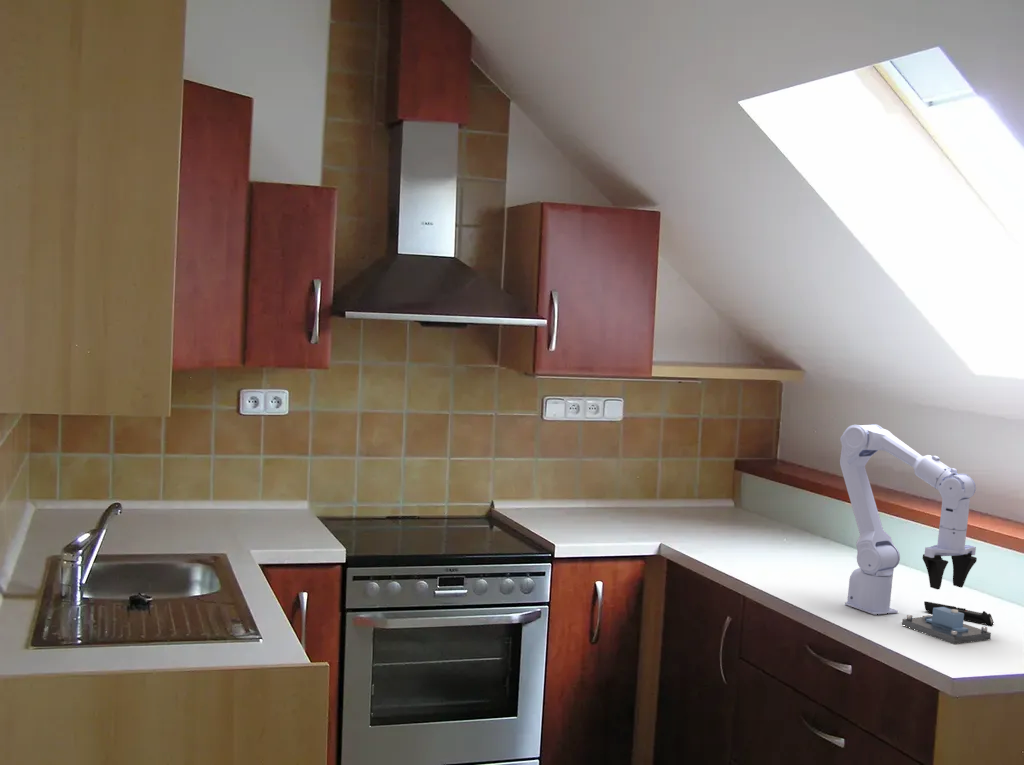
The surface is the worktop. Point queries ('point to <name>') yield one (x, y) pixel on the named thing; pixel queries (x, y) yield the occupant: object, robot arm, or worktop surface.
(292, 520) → the worktop surface
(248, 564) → the worktop surface
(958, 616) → the servo
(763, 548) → the worktop surface
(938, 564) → the robot arm
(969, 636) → the plate
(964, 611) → the electric trimmer
